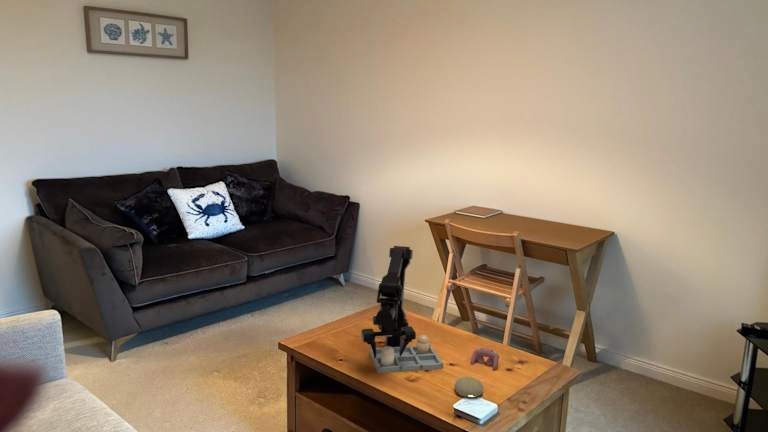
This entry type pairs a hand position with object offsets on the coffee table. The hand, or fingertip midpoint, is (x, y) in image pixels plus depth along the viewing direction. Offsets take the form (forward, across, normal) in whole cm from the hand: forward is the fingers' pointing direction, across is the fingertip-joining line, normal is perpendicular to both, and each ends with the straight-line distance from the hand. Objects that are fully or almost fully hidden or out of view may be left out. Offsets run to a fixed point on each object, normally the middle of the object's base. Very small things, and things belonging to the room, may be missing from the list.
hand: (387, 356), depth 210 cm
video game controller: (+5, -36, +3) cm, 36 cm away
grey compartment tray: (+4, -8, -4) cm, 10 cm away
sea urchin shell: (+5, -23, +21) cm, 31 cm away
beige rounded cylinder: (+4, -15, -8) cm, 17 cm away
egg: (+4, 0, 0) cm, 4 cm away
